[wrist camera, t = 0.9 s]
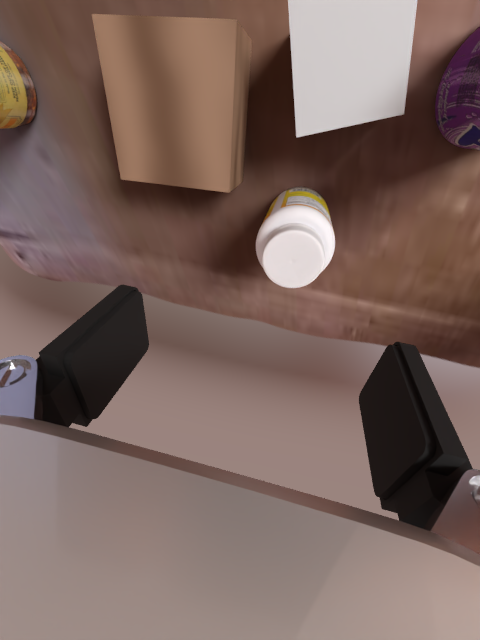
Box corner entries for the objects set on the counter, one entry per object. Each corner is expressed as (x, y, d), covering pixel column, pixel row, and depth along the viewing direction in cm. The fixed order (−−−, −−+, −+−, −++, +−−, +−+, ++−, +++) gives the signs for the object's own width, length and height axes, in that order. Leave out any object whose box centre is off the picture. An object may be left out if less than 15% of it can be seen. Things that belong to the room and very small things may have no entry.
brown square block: (252, 41, 19) (236, 19, 15) (242, 181, 24) (229, 192, 20) (134, 35, 20) (91, 14, 16) (150, 171, 26) (120, 179, 22)
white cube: (391, -2, 17) (423, -52, 12) (381, 117, 20) (403, 114, 15) (293, 30, 18) (287, -3, 14) (299, 135, 22) (296, 137, 17)
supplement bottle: (282, 255, 28) (270, 309, 20) (258, 203, 25) (233, 239, 17) (337, 232, 25) (349, 283, 17) (317, 172, 23) (320, 198, 15)
